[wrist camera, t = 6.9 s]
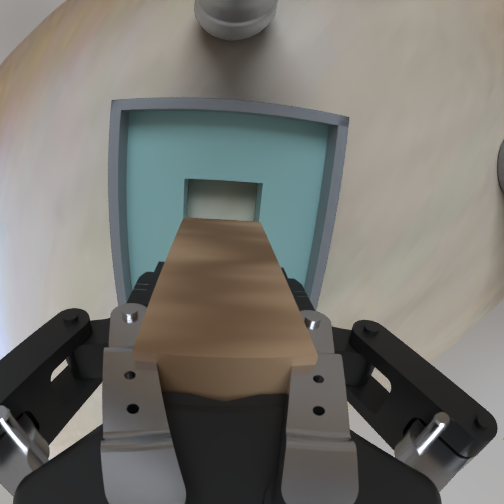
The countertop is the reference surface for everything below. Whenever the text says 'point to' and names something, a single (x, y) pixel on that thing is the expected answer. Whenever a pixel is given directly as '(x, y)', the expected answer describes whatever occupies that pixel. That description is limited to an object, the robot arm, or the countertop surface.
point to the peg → (223, 315)
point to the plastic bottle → (234, 17)
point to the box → (223, 177)
